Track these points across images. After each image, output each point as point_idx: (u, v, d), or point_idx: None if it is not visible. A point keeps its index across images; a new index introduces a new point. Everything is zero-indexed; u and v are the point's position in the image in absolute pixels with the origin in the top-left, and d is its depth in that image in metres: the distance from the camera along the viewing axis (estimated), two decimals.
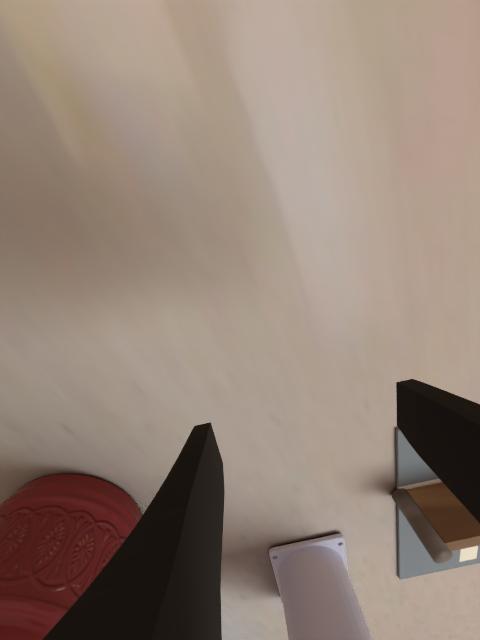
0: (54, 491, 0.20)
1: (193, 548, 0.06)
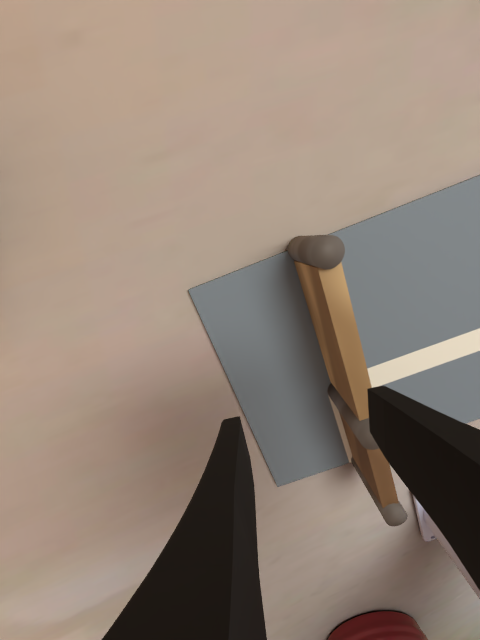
0: None
1: (241, 538, 0.06)
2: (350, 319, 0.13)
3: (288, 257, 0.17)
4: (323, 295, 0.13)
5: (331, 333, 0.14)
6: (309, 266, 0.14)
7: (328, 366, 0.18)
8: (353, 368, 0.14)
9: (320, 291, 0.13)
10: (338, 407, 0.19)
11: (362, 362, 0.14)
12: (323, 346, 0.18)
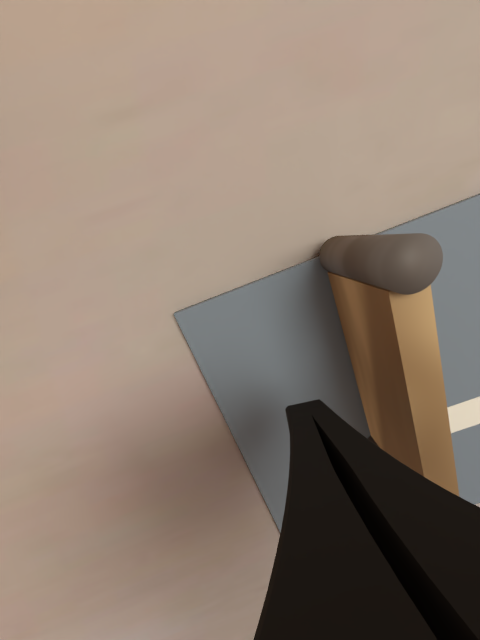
0: None
1: None
2: (435, 373, 0.08)
3: (318, 267, 0.12)
4: (391, 335, 0.08)
5: (395, 390, 0.09)
6: (364, 285, 0.08)
7: (372, 419, 0.13)
8: (431, 446, 0.09)
9: (386, 326, 0.08)
10: None
11: (446, 437, 0.09)
12: (367, 394, 0.12)
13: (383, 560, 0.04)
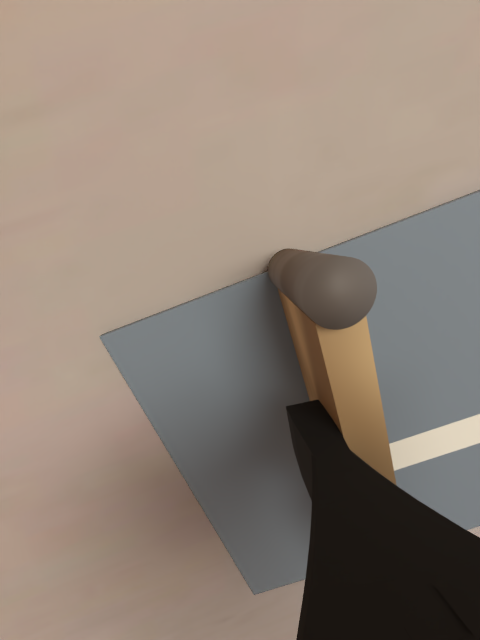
0: None
1: None
2: (375, 420, 0.07)
3: (260, 286, 0.11)
4: (324, 373, 0.07)
5: None
6: (300, 310, 0.07)
7: None
8: None
9: (320, 362, 0.07)
10: None
11: None
12: None
13: (421, 552, 0.04)
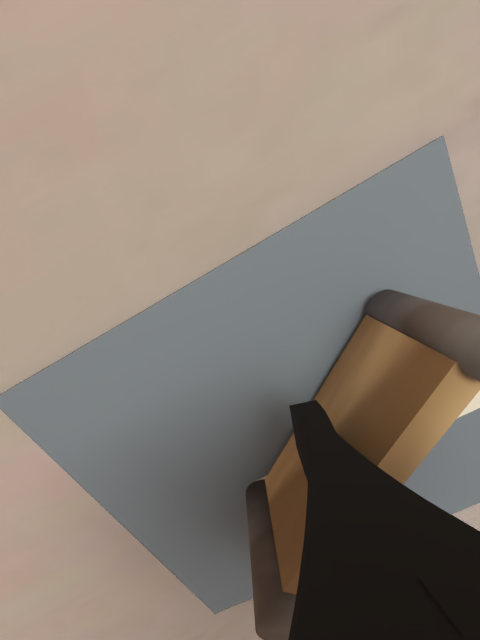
0: None
1: None
2: (412, 463, 0.08)
3: (124, 333, 0.11)
4: (413, 401, 0.07)
5: None
6: (418, 344, 0.08)
7: (284, 466, 0.12)
8: None
9: (414, 391, 0.07)
10: None
11: None
12: None
13: (414, 553, 0.04)
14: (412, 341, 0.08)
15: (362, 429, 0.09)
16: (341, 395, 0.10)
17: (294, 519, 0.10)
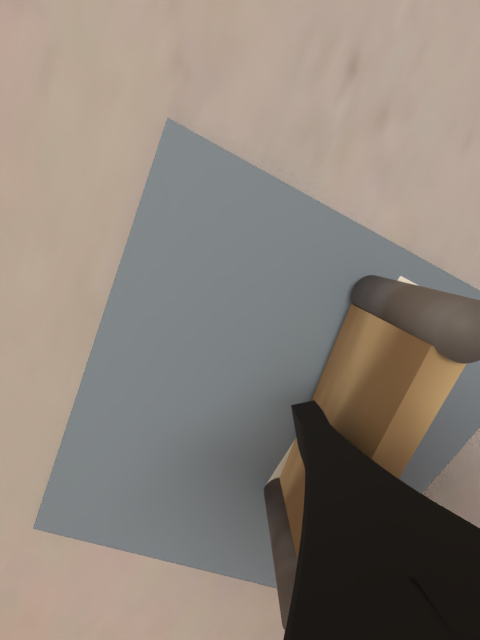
0: None
1: None
2: (407, 450, 0.08)
3: (72, 436, 0.13)
4: (397, 390, 0.07)
5: (356, 445, 0.08)
6: (398, 330, 0.08)
7: (294, 463, 0.12)
8: None
9: (397, 379, 0.07)
10: None
11: None
12: None
13: (410, 555, 0.04)
14: (392, 328, 0.08)
15: (356, 421, 0.09)
16: (336, 388, 0.10)
17: None
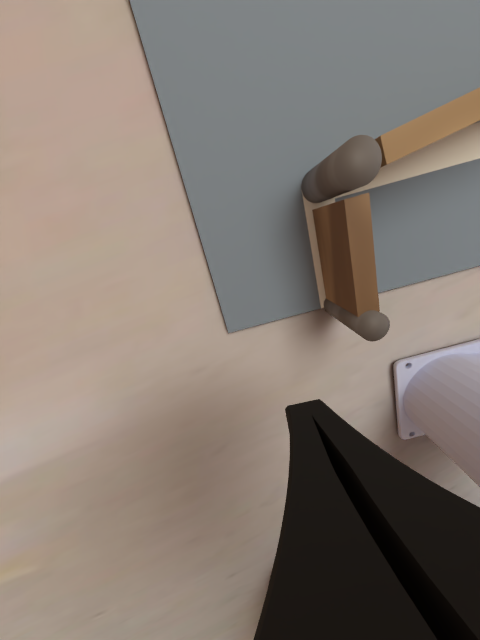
0: None
1: None
2: None
3: None
4: None
5: None
6: None
7: None
8: (466, 106, 0.11)
9: None
10: (312, 178, 0.14)
11: (472, 119, 0.11)
12: None
13: (383, 560, 0.04)
14: None
15: None
16: None
17: None
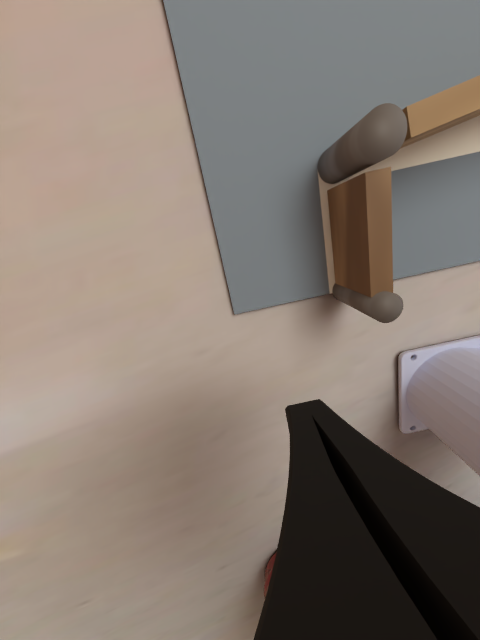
0: (265, 593, 0.26)
1: None
2: None
3: None
4: None
5: None
6: None
7: None
8: None
9: None
10: (331, 154, 0.14)
11: None
12: None
13: (383, 560, 0.04)
14: None
15: None
16: None
17: None
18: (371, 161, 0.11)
